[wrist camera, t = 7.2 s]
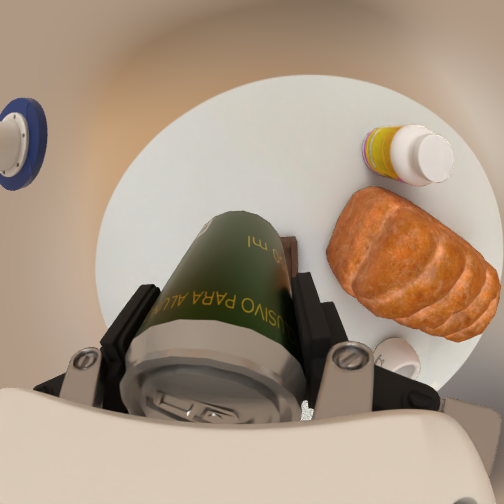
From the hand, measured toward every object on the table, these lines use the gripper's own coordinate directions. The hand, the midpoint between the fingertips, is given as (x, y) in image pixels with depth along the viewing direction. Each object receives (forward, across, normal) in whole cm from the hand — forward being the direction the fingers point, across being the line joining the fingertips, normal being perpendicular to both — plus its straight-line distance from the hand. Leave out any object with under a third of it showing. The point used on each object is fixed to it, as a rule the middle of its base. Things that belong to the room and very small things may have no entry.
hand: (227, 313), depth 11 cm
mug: (+26, -22, +31) cm, 46 cm away
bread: (+26, -23, +10) cm, 36 cm away
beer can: (+7, 0, 0) cm, 7 cm away
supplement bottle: (+26, -18, -5) cm, 32 cm away
